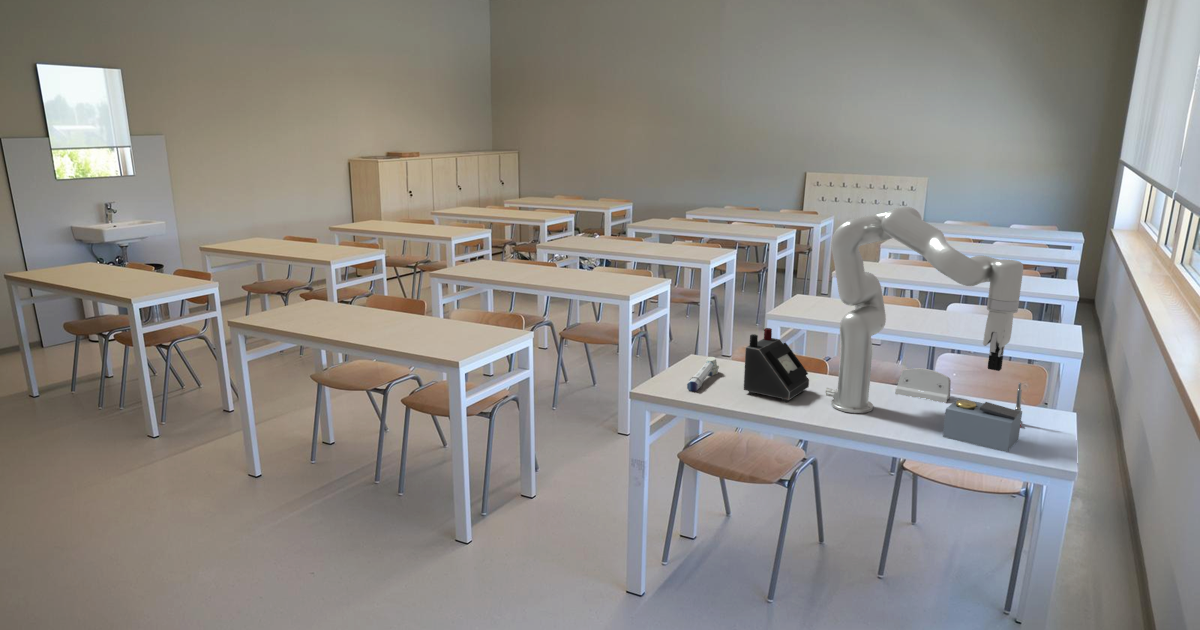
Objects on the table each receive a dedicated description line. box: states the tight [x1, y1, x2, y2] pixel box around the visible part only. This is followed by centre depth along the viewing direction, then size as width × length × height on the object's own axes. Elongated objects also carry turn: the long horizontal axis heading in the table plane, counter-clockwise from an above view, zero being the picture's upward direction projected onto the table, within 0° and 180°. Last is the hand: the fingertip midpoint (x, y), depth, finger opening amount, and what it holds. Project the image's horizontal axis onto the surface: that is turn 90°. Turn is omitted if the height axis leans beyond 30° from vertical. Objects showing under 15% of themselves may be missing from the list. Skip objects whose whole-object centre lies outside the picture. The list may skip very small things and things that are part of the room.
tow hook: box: [1014, 382, 1023, 428], centre depth 232 cm, size 8×13×9 cm
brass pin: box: [956, 399, 976, 410], centre depth 222 cm, size 5×5×10 cm
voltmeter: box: [743, 327, 810, 403], centre depth 257 cm, size 16×16×20 cm
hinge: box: [894, 367, 952, 404], centre depth 256 cm, size 17×5×10 cm, turn 55°
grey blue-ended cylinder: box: [686, 356, 720, 393], centre depth 271 cm, size 5×7×25 cm
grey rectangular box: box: [942, 398, 1023, 453], centre depth 220 cm, size 17×12×8 cm
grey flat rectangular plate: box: [979, 401, 1020, 420], centre depth 216 cm, size 9×6×1 cm, turn 49°
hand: (994, 369), depth 215 cm, fingers closed
